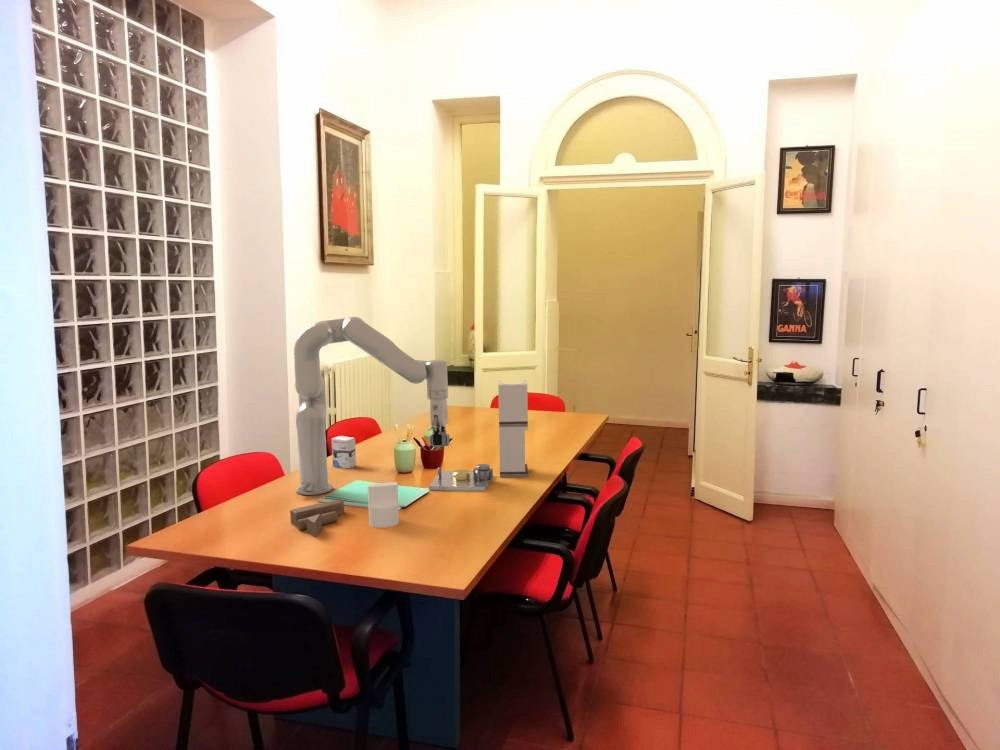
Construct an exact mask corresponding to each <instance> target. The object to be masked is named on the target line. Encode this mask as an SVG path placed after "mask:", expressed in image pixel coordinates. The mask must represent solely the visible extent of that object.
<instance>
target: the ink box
mask: <svg viewBox="0 0 1000 750" xmlns="http://www.w3.org/2000/svg"><path fill="white" fill-rule="evenodd" d="M356 452H357V451H356V438H355V437H349V436H344V435H339V436H335V437H333V438H331V455H332V467H333V466H335V468H340V467H343V468H342V469H346V468H349V469H352V468H355V467H357V454H356ZM354 466H355V467H354ZM351 467H352V468H351Z"/></svg>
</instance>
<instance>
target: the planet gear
mask: <svg viewBox="0 0 1000 750" xmlns="http://www.w3.org/2000/svg"><path fill="white" fill-rule="evenodd" d="M445 430H446V429H444V430H441V434H442V445H433V431H432V432H431V434H430V435H429V447H433V448H438V447H439V448H443V447H449V445H450V434H447V430H446V431H445Z"/></svg>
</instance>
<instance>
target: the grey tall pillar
mask: <svg viewBox="0 0 1000 750" xmlns="http://www.w3.org/2000/svg"><path fill="white" fill-rule="evenodd" d="M497 383H498V385H497V386H498V387H497V388H498V434H499V435H498V436H499V437H498V439H499V440H498V441H499V444H498V445H499V449H498V451H499V477H500V478H529V469H528V468H529V466H528V463H526V431H529V427H528V426H529V425H528V424H529V418H528V417H529V416H528V415H529V409H528V408H529V407H528V403H529V402H528V400H529V399H528V383H527V380H526V379H525V380H524V379H523V383H522V382H521V383H512V384H511V383H509V384H508V383H502V382H501V380H498V381H497Z"/></svg>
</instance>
